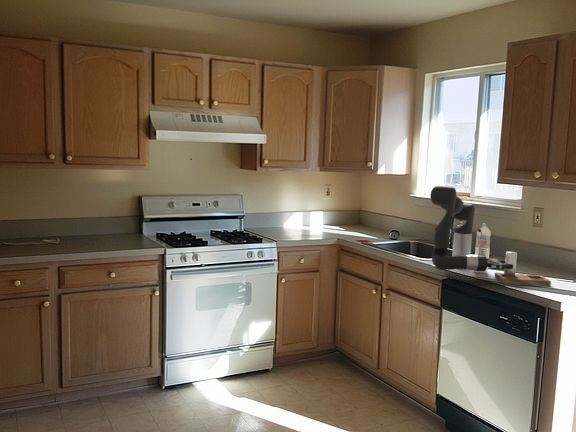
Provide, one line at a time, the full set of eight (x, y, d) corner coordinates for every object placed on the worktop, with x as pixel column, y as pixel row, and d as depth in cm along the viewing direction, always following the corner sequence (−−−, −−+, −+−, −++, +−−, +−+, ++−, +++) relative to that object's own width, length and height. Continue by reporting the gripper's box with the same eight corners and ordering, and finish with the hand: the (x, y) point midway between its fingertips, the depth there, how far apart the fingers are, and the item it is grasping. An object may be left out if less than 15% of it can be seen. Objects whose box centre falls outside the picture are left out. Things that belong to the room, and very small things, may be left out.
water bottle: (470, 271, 281) (474, 223, 278) (477, 270, 286) (481, 222, 283) (483, 274, 276) (487, 225, 273) (489, 272, 281) (494, 224, 278)
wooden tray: (494, 277, 270) (495, 272, 270) (540, 280, 268) (541, 274, 268) (501, 283, 258) (502, 278, 258) (550, 286, 256) (551, 280, 256)
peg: (501, 279, 266) (504, 251, 264) (512, 280, 266) (515, 251, 264) (505, 282, 261) (507, 253, 259) (515, 282, 261) (518, 253, 259)
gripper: (479, 258, 256) (515, 260, 255) (472, 252, 270) (506, 254, 269) (478, 273, 257) (514, 275, 256) (471, 267, 271) (505, 269, 270)
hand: (510, 264), depth 262 cm, fingers open, 8 cm apart
